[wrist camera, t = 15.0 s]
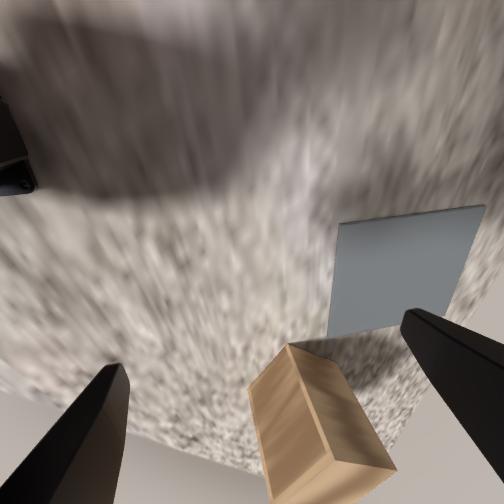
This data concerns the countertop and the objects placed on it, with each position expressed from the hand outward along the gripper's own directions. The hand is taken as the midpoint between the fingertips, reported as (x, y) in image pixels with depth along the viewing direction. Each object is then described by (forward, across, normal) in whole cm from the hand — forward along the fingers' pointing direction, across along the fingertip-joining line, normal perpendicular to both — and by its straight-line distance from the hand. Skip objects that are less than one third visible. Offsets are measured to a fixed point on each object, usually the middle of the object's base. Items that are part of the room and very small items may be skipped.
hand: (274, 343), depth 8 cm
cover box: (+12, -5, +19) cm, 23 cm away
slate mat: (+12, -15, +8) cm, 21 cm away
